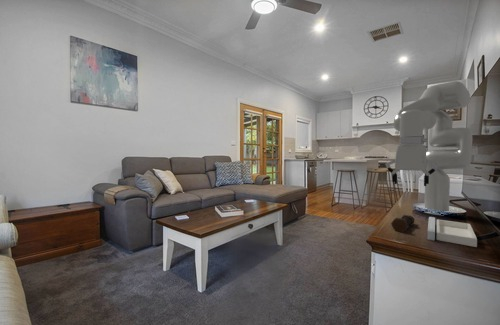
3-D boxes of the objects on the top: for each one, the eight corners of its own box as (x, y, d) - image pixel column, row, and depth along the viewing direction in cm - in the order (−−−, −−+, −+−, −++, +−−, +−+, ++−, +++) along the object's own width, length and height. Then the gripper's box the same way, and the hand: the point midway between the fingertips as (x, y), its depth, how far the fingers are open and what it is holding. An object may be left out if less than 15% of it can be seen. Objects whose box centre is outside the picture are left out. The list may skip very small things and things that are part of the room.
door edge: (428, 223, 96) (429, 216, 96) (434, 224, 95) (435, 217, 95) (427, 239, 80) (427, 230, 79) (434, 240, 78) (434, 232, 78)
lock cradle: (436, 225, 94) (436, 219, 94) (469, 230, 88) (470, 223, 87) (436, 239, 79) (436, 232, 79) (476, 247, 72) (477, 239, 72)
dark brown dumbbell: (412, 228, 97) (401, 235, 87) (400, 220, 100) (388, 226, 91) (420, 217, 95) (410, 224, 85) (408, 209, 98) (397, 215, 88)
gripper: (438, 141, 87) (437, 185, 87) (386, 143, 98) (386, 182, 98) (439, 140, 81) (438, 187, 82) (384, 142, 92) (383, 184, 92)
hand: (409, 184), depth 90 cm, fingers open, 9 cm apart
